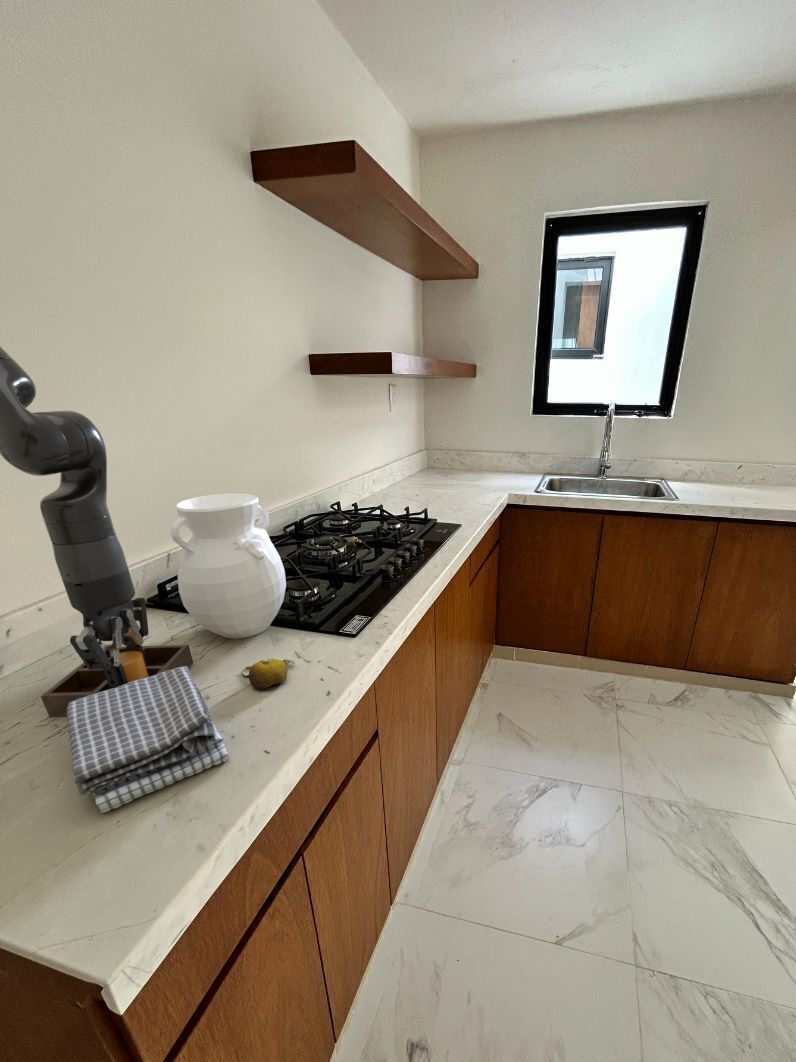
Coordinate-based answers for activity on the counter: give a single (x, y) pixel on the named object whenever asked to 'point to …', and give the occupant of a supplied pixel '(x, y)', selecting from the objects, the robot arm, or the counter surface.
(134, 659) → the orange cylinder
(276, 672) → the yellow rounded lumpy piece
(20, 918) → the counter surface
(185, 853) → the counter surface
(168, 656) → the grid
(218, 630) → the white vase
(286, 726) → the counter surface
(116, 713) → the towel
